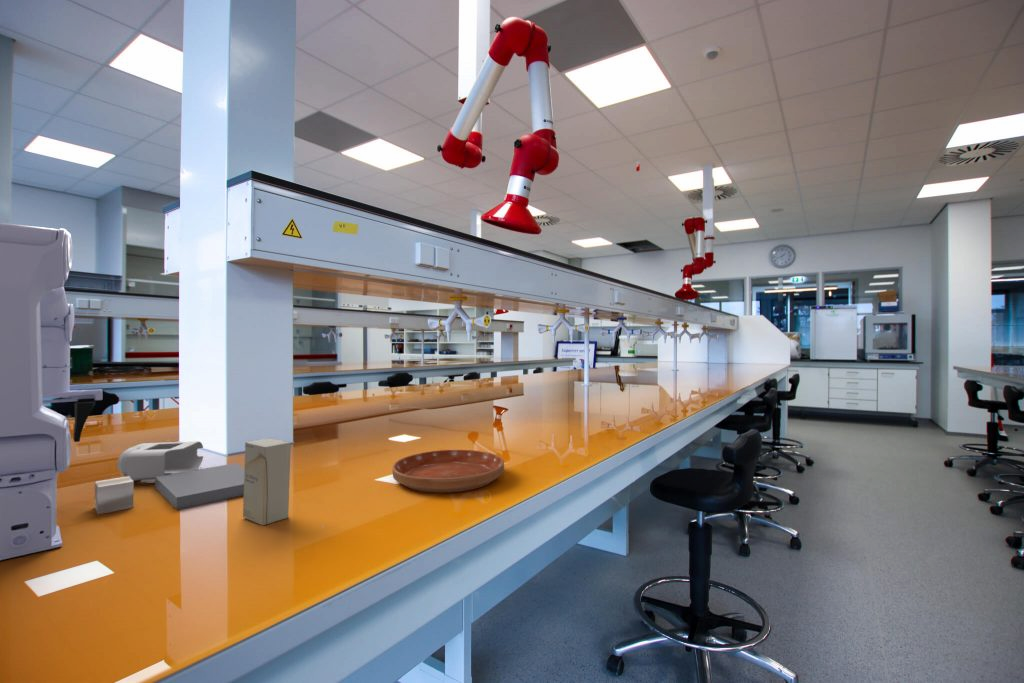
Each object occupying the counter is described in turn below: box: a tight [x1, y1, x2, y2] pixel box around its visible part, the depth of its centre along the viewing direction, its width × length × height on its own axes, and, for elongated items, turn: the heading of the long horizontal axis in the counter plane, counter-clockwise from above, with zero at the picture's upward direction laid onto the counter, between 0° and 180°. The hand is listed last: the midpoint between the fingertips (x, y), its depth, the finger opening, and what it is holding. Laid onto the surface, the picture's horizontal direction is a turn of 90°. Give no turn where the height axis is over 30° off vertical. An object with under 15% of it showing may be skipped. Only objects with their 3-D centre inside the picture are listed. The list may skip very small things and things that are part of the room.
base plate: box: [154, 462, 245, 510], centre depth 89 cm, size 18×14×2 cm
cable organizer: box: [117, 441, 204, 483], centre depth 97 cm, size 7×12×12 cm
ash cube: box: [94, 476, 135, 515], centre depth 78 cm, size 4×4×4 cm
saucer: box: [391, 449, 505, 494], centre depth 96 cm, size 23×23×4 cm
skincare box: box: [242, 437, 292, 526], centre depth 74 cm, size 6×4×12 cm
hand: (46, 444), depth 81 cm, fingers open, 7 cm apart
